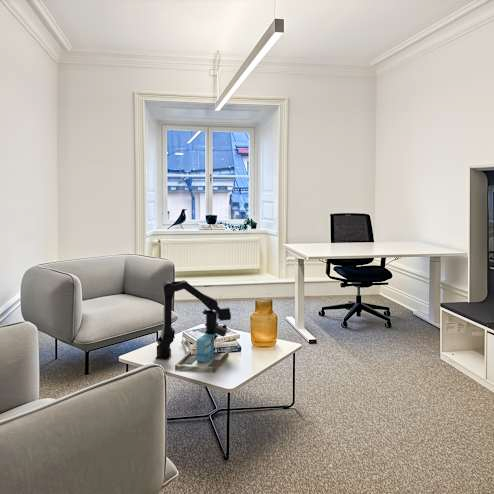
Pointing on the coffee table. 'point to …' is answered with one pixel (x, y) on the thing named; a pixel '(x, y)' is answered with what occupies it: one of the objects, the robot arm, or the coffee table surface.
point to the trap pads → (192, 359)
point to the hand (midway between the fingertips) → (211, 349)
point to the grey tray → (196, 368)
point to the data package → (205, 348)
